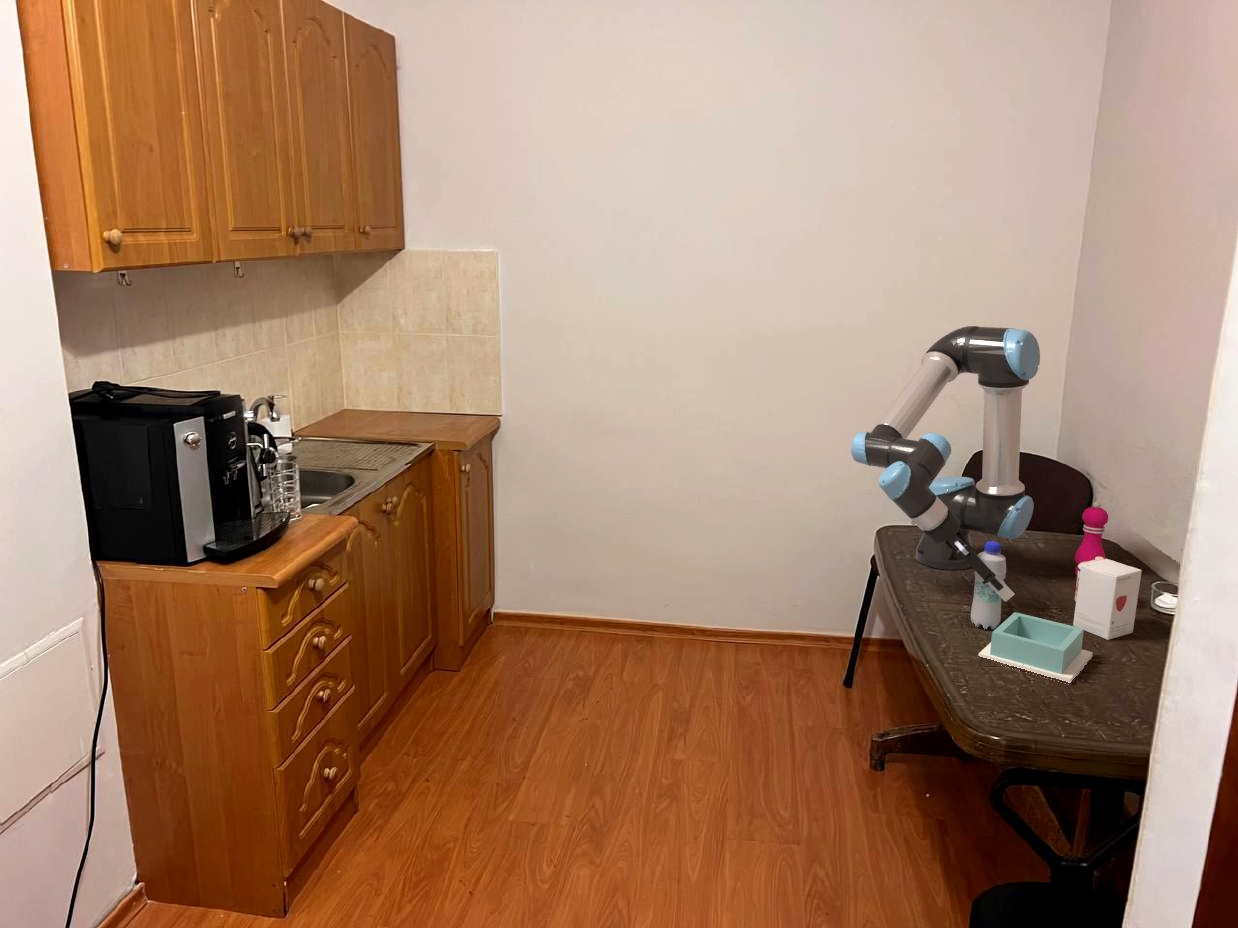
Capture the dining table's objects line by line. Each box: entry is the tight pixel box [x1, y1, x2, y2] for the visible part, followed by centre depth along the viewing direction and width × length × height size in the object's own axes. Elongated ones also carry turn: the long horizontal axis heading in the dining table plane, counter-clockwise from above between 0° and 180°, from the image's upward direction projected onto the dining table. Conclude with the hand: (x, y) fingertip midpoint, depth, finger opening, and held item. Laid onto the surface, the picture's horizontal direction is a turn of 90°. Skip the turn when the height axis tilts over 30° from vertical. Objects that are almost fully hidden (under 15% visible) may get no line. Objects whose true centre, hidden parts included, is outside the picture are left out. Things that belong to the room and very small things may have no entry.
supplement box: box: [1072, 558, 1143, 641], centre depth 206 cm, size 9×9×15 cm
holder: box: [977, 611, 1094, 684], centre depth 193 cm, size 18×16×6 cm
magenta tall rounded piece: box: [1074, 501, 1109, 576], centre depth 239 cm, size 7×7×20 cm
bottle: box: [970, 541, 1007, 630], centre depth 208 cm, size 7×7×20 cm
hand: (1004, 591), depth 208 cm, fingers closed on bottle, 7 cm apart
